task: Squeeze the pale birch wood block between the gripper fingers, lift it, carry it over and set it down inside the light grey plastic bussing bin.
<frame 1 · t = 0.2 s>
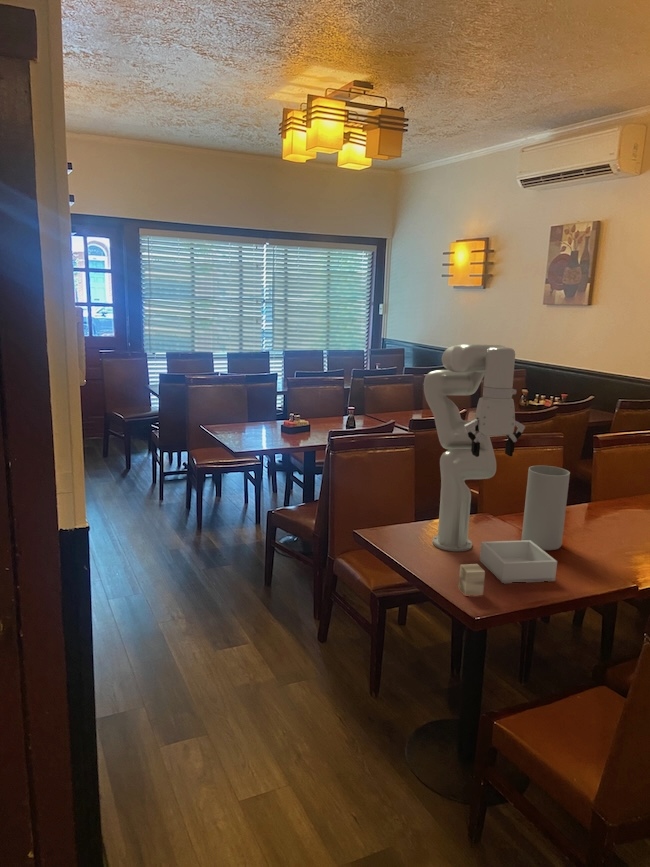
hand: (492, 455, 172), 36 cm above the table, tool pointing down, fingers open, 9 cm apart
cylinder vase: (541, 544, 206), on the table
birch block: (470, 592, 170), on the table
bussing bin: (516, 570, 185), on the table
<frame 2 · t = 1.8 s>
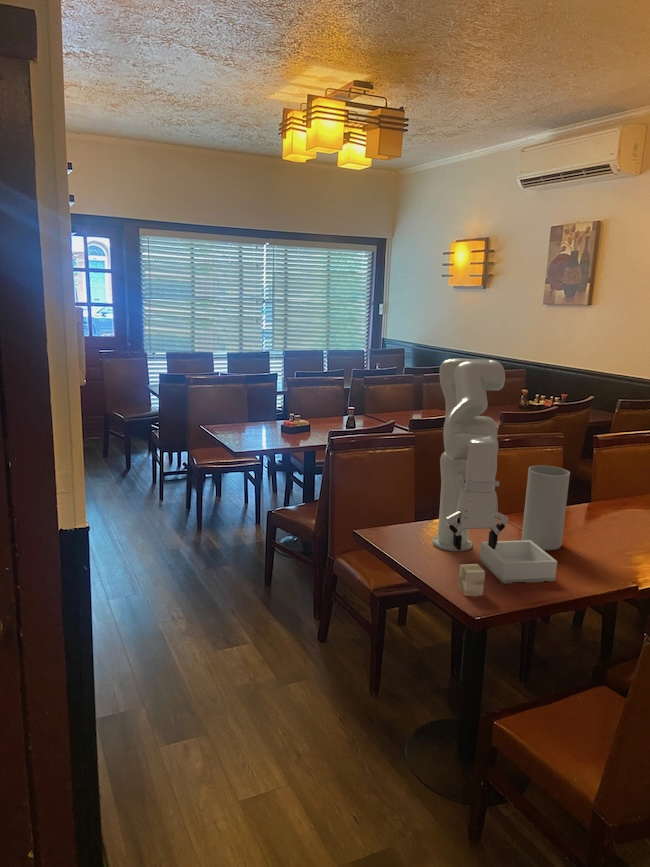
hand: (474, 547, 167), 13 cm above the table, tool pointing down, fingers open, 9 cm apart
nothing on the table moved.
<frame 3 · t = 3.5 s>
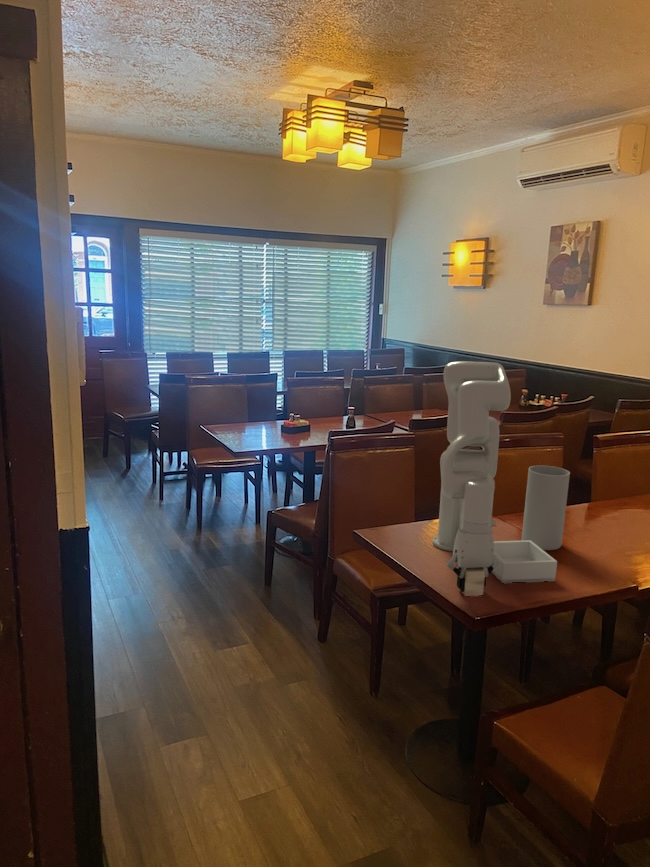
hand: (470, 588, 170), 1 cm above the table, tool pointing down, fingers closed on birch block, 5 cm apart
birch block: (470, 592, 170), on the table, touching gripper
everything else where it was.
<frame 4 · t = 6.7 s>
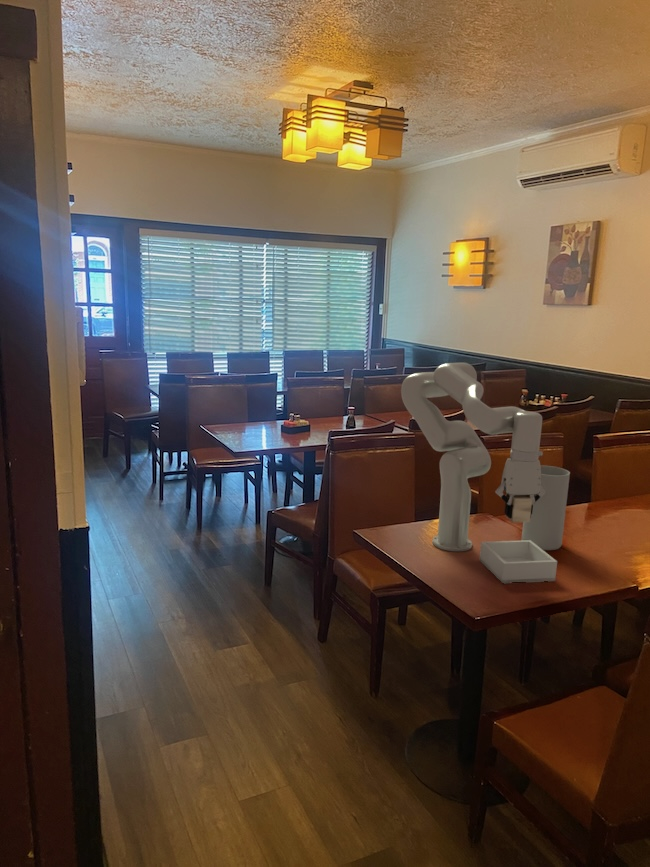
hand: (517, 516, 180), 17 cm above the table, tool pointing down, fingers closed on birch block, 5 cm apart
birch block: (517, 519, 180), point 16 cm above the table, touching gripper
everything else where it was.
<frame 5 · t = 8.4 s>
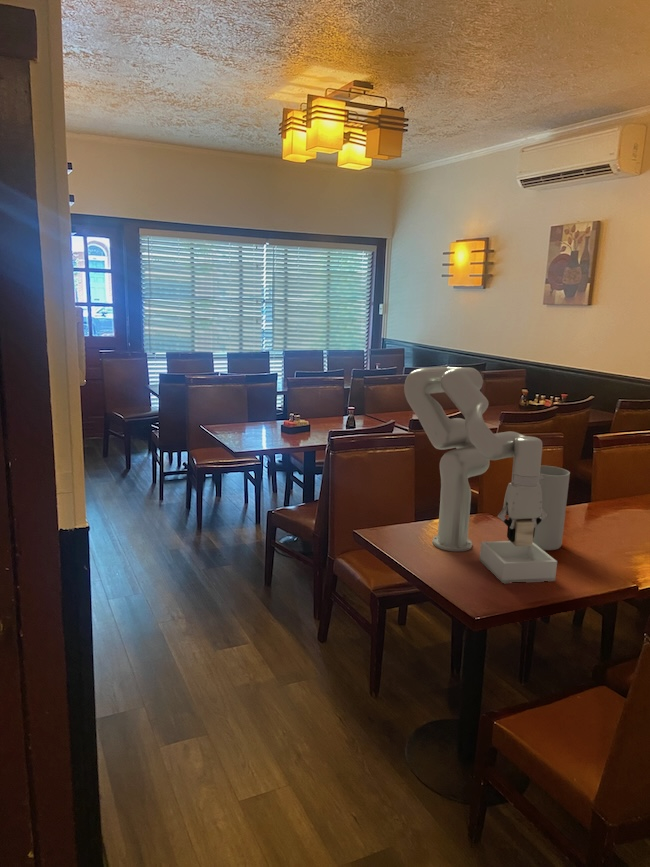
hand: (520, 539, 182), 10 cm above the table, tool pointing down, fingers closed on birch block, 5 cm apart
birch block: (520, 542, 183), point 9 cm above the table, touching gripper
everything else where it was.
when the fingers open (4 cm above the table, at t = 9.8 s): birch block drops 2 cm, resting on bussing bin.
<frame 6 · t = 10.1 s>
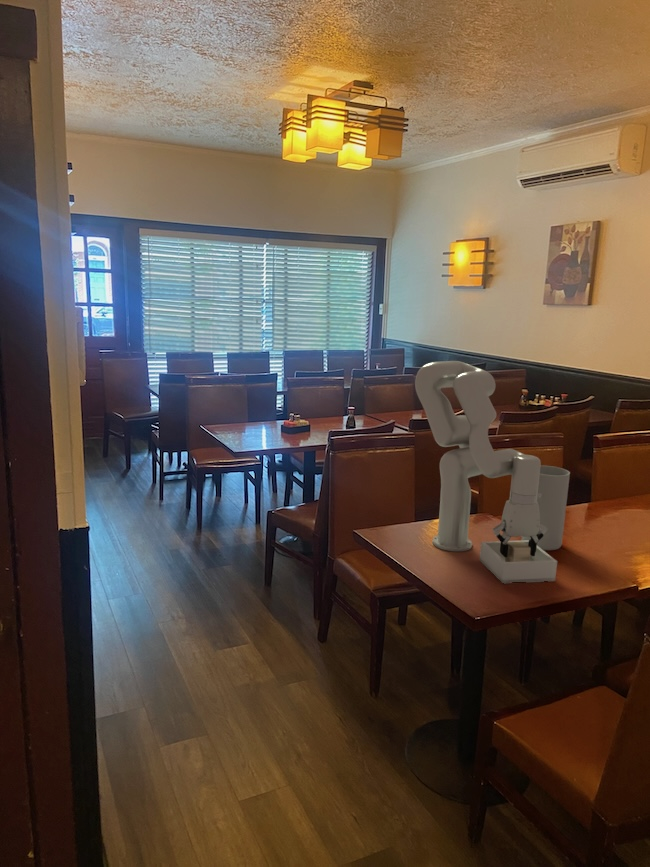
hand: (517, 554, 184), 5 cm above the table, tool pointing down, fingers open, 8 cm apart
birch block: (516, 567, 185), point 1 cm above the table, touching bussing bin
everything else where it was.
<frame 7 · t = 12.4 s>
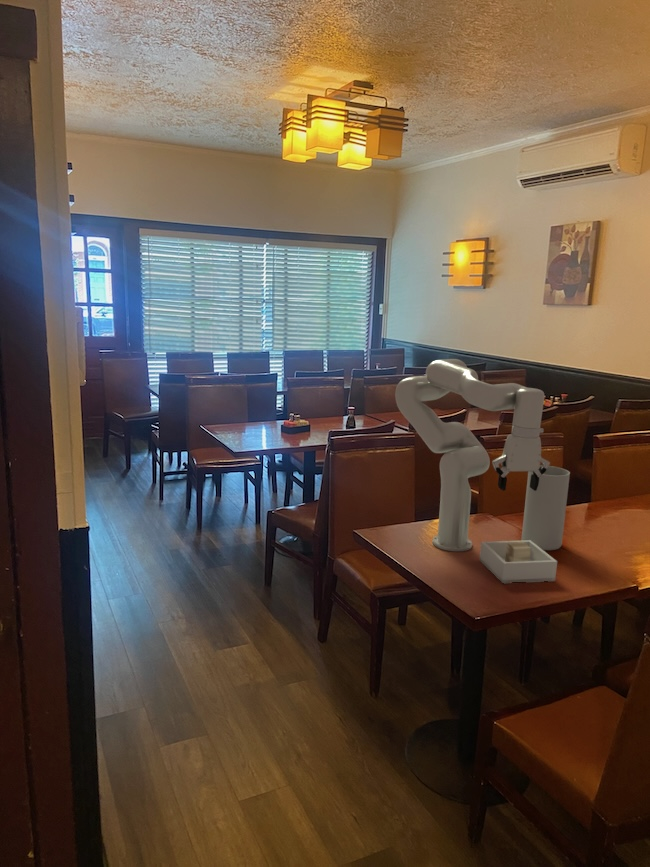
hand: (517, 489, 181), 24 cm above the table, tool pointing down, fingers open, 9 cm apart
nothing on the table moved.
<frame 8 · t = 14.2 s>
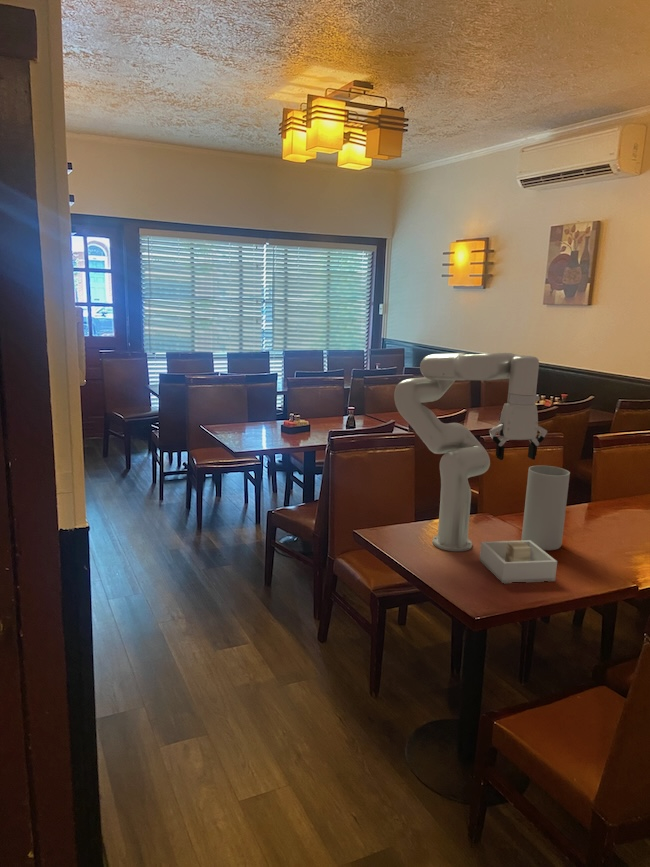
hand: (515, 458, 180), 33 cm above the table, tool pointing down, fingers open, 9 cm apart
nothing on the table moved.
at the end: birch block inside the target area on the bussing bin (0.0 cm from its centre), point 1.0 cm above the bussing bin's base; the gripper is holding nothing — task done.
